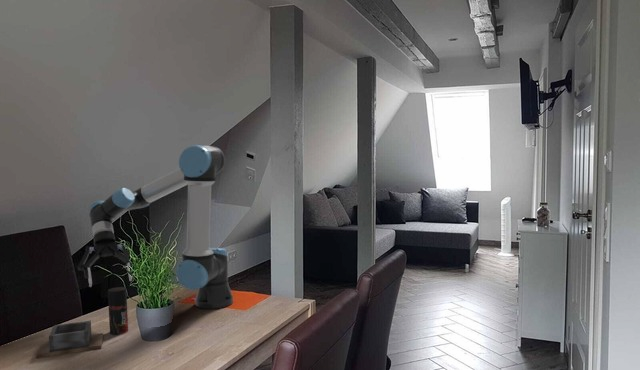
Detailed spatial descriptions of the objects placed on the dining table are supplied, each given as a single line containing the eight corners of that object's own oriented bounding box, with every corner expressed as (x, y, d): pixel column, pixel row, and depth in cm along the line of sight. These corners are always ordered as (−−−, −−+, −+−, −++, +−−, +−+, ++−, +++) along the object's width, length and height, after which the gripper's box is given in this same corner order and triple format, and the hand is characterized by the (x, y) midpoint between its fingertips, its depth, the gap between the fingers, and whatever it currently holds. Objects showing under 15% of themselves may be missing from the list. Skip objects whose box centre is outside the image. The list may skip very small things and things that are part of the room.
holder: (103, 335, 165) (102, 318, 165) (101, 348, 154) (100, 329, 154) (43, 344, 159) (41, 326, 158) (36, 358, 147) (35, 338, 147)
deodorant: (121, 335, 165) (119, 291, 164) (106, 334, 166) (104, 291, 166) (131, 329, 171) (129, 287, 170) (116, 328, 172) (114, 286, 171)
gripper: (136, 238, 197) (145, 282, 185) (67, 245, 184) (72, 293, 172) (138, 226, 192) (148, 271, 180) (67, 232, 179) (73, 281, 167)
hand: (111, 282), depth 176 cm, fingers open, 13 cm apart
